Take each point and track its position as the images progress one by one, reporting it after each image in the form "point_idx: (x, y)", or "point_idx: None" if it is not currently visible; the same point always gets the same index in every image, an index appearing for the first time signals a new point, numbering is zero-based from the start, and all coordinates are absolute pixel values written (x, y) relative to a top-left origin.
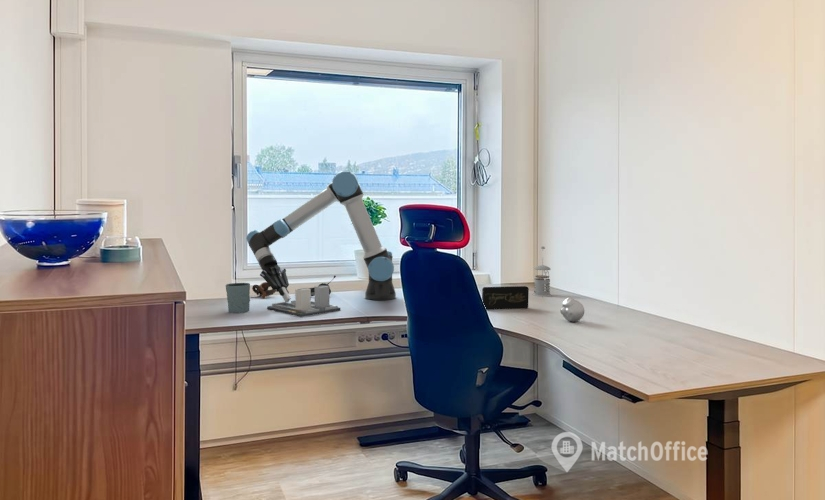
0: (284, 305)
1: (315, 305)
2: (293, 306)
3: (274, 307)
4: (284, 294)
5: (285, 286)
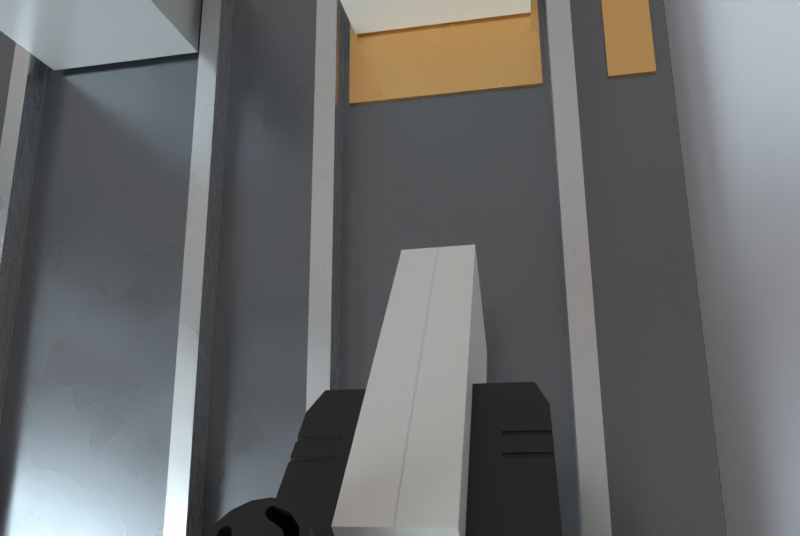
0: None
1: (187, 20)
2: (360, 324)
3: (669, 480)
4: (474, 374)
5: (290, 532)
